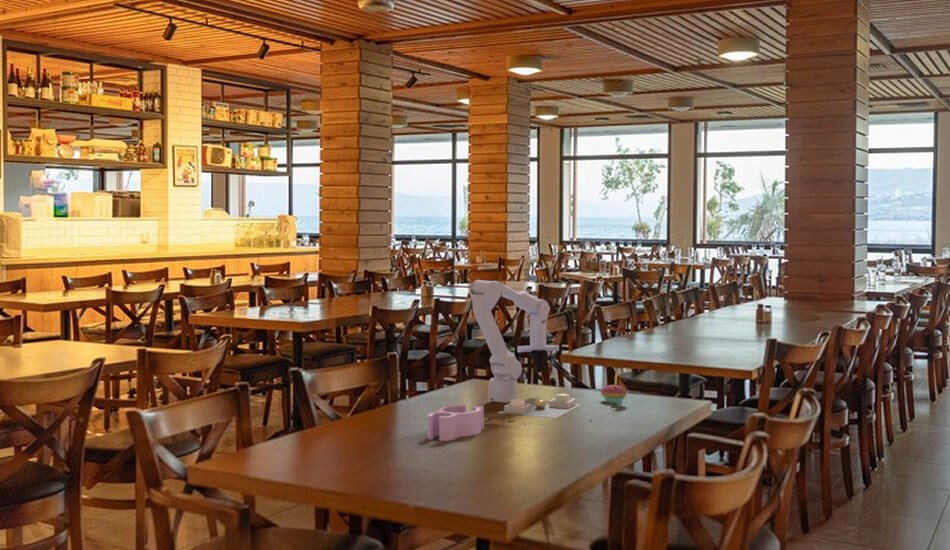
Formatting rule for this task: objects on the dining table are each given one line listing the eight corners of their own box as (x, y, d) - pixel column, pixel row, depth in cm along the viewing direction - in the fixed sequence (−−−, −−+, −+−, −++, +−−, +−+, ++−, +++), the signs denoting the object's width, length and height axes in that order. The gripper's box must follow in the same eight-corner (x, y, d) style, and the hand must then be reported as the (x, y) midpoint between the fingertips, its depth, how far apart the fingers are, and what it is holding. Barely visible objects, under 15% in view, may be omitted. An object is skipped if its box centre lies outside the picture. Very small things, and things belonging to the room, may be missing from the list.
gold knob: (534, 409, 321) (534, 401, 321) (537, 407, 324) (537, 399, 323) (543, 409, 320) (543, 401, 319) (546, 408, 322) (546, 400, 322)
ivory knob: (508, 411, 316) (508, 400, 316) (514, 409, 320) (514, 398, 320) (521, 413, 314) (521, 401, 314) (526, 410, 318) (526, 399, 318)
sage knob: (553, 406, 325) (553, 395, 324) (558, 404, 329) (558, 393, 328) (566, 407, 323) (566, 396, 322) (571, 405, 327) (571, 394, 326)
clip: (452, 443, 281) (452, 419, 281) (417, 438, 288) (417, 414, 287) (491, 430, 298) (490, 407, 297) (456, 425, 304) (456, 403, 304)
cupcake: (631, 407, 330) (631, 371, 330) (608, 409, 327) (608, 373, 326) (618, 402, 338) (618, 367, 338) (596, 404, 335) (596, 369, 334)
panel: (497, 417, 315) (497, 406, 315) (526, 404, 337) (526, 394, 337) (556, 422, 306) (556, 411, 306) (582, 408, 328) (582, 398, 328)
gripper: (520, 335, 340) (520, 374, 341) (561, 334, 343) (561, 373, 344) (515, 333, 347) (516, 371, 348) (555, 331, 350) (556, 369, 350)
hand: (538, 372), depth 346 cm, fingers closed
